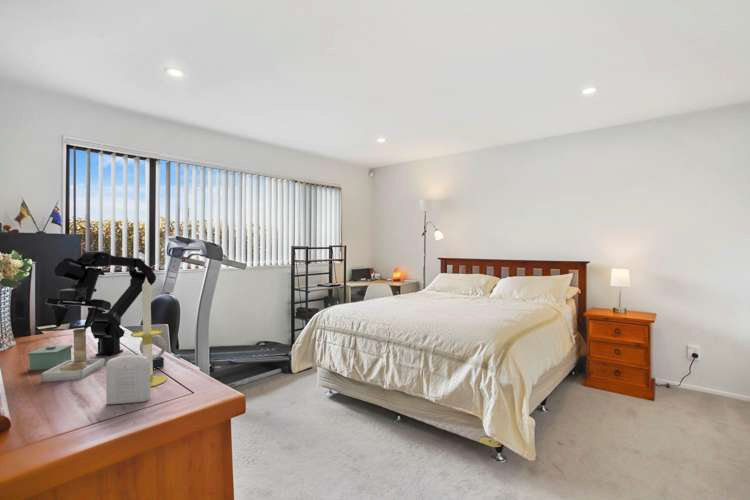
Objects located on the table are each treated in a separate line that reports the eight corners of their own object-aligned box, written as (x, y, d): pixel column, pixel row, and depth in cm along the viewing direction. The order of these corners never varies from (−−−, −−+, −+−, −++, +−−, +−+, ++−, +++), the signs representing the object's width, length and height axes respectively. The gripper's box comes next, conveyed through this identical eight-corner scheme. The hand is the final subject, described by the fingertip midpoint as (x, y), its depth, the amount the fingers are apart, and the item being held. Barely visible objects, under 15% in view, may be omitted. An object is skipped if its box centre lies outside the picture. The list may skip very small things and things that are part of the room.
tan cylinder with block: (75, 365, 126) (74, 328, 126) (91, 364, 127) (90, 328, 127) (59, 374, 118) (58, 334, 118) (77, 372, 119) (76, 333, 119)
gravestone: (153, 396, 103) (152, 351, 103) (147, 402, 99) (146, 356, 99) (111, 399, 101) (110, 354, 100) (103, 406, 96) (102, 359, 96)
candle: (171, 382, 113) (169, 275, 113) (133, 391, 106) (131, 278, 105) (160, 374, 120) (158, 274, 119) (124, 383, 113) (122, 276, 112)
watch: (169, 365, 129) (169, 333, 129) (144, 371, 123) (143, 338, 122) (163, 362, 132) (162, 331, 132) (137, 368, 126) (137, 336, 126)
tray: (67, 367, 127) (67, 360, 127) (104, 365, 129) (104, 358, 129) (41, 381, 114) (40, 373, 114) (82, 378, 117) (81, 371, 116)
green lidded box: (72, 360, 135) (72, 342, 135) (57, 368, 126) (56, 349, 126) (45, 362, 133) (45, 344, 133) (28, 370, 125) (27, 351, 125)
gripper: (41, 276, 126) (24, 322, 121) (98, 280, 127) (84, 326, 122) (65, 284, 137) (50, 327, 131) (117, 288, 138) (104, 330, 132)
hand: (71, 327), depth 129 cm, fingers open, 9 cm apart
